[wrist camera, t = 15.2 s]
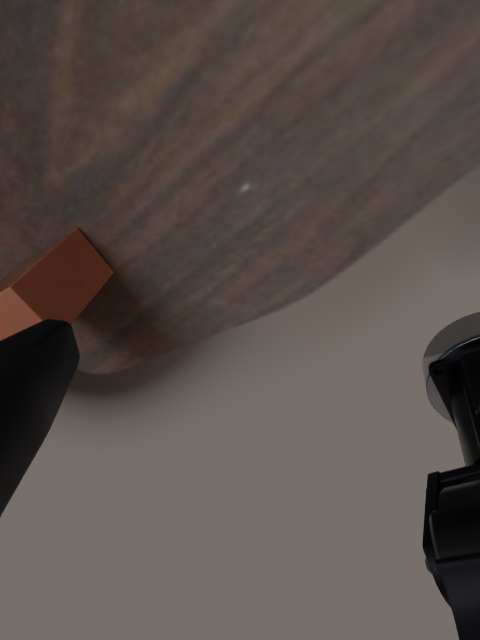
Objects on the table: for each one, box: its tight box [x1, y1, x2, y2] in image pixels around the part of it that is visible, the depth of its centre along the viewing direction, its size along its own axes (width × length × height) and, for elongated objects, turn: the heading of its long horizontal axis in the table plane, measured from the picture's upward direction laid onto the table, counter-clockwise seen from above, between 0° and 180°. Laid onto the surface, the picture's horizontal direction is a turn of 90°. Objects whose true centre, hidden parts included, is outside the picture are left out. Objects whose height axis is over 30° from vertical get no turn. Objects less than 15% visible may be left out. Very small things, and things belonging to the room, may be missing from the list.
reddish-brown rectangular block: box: [0, 228, 114, 341], centre depth 22 cm, size 3×5×6 cm, turn 122°
